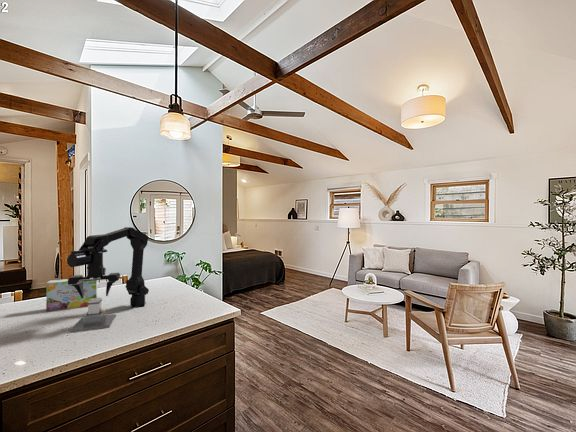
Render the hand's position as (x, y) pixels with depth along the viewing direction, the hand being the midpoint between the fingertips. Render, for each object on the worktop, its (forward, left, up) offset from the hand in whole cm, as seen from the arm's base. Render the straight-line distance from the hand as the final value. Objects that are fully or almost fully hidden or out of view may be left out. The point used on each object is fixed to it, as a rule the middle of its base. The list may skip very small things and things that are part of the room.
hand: (95, 297), depth 120 cm
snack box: (+17, -30, -13) cm, 37 cm away
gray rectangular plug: (0, 0, -11) cm, 11 cm away
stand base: (0, 0, -12) cm, 12 cm away
